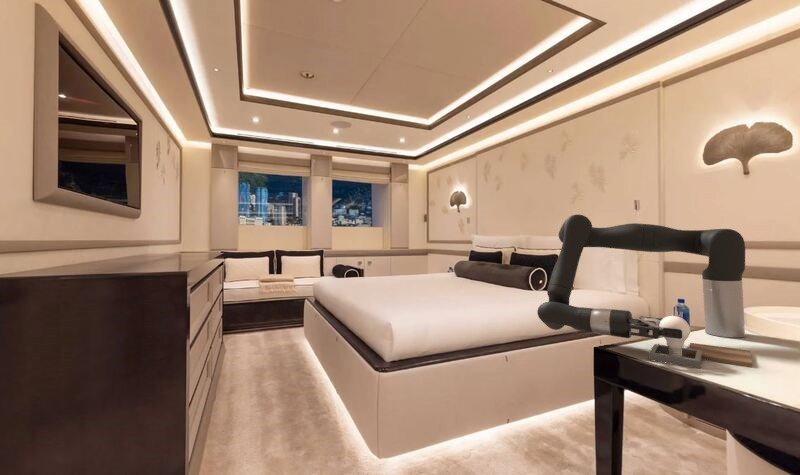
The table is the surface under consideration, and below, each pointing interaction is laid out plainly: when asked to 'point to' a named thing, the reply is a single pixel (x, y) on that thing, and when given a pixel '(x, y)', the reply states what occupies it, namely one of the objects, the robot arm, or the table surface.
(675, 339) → the lightbulb
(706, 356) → the coaster
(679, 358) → the tray
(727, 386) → the table surface
